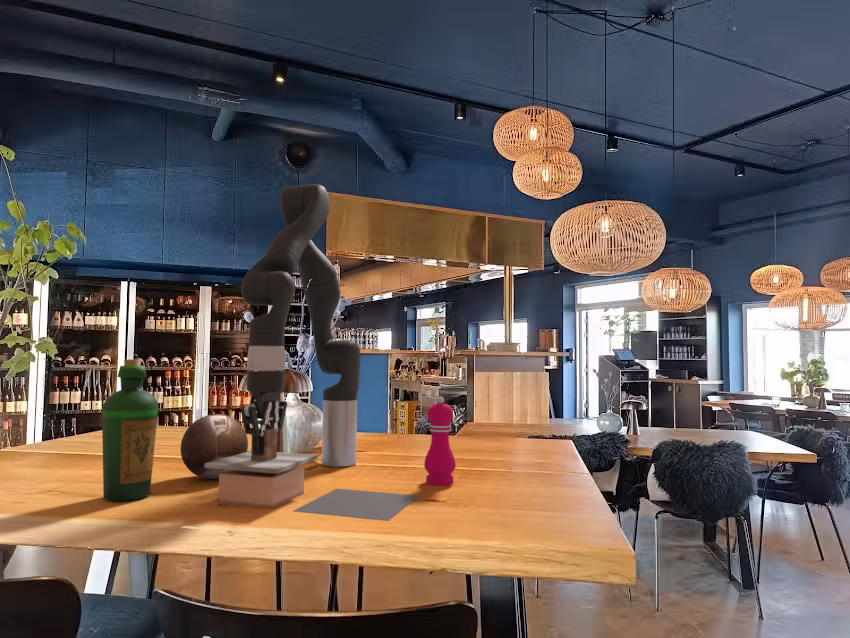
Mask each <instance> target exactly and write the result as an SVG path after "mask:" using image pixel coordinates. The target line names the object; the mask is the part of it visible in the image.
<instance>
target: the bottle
mask: <svg viewBox="0 0 850 638" xmlns="http://www.w3.org/2000/svg"><path fill="white" fill-rule="evenodd" d="M141 364H142V359H124V365H120V367H119V371H118V373H117V378H119V379H120V390H117V391H116V392H113V393H112V394H111V395H110V396H108V397H107V398H106V399H105V400H104V402H103V403H102V405H101V420H102V421H101V422H102V423H101V424H102V425H101V427H102V428H101V429H102V433H101V434H102V437H101V438H102V478H103V479H102V482H103V485H102V487H103V489H102V490H103V499H105V500H107V501H110V502H118V503H121V502H123V503H124V502H133V501H138V500H142V499H144V498H146V497H147V496H150V494H151V487H152V477H153V476H152V475H153V467H154V466H153V465H154V455H155V444H156V436H157V435H156V434H157V425H158V416H159V415H158V414H159V406H160V405H159V401H158V400H157V398H156V397H155V396H154V395H153V394H151V392H149V391H147V390H144V389H143V385H144V379H145V378H147V371H146V370H147V369H146V366H145V365H141Z"/></svg>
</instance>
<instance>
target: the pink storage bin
mask: <svg viewBox="0 0 850 638" xmlns="http://www.w3.org/2000/svg"><path fill="white" fill-rule="evenodd" d="M304 492H305V466H303V465H299V466H297V467H294V468H291V469H289V470H286V471H283V472H281V473H278V474H277V473H264V472H252V471H239V470H230V471H227V472H223V473H220V474H219V478H218V502H217V504H218V506H226V507H229V506H231V505H233V506H234V505H235V506H244V507H253V508H255V507H256V508H265V509H275V508H277V507H279V506H281V505H283V504H286V503H287V502H290V501H292V500H294V499H296V498H298V497H301V496H302V495H304V494H305V493H304Z"/></svg>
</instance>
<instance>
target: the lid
mask: <svg viewBox="0 0 850 638" xmlns="http://www.w3.org/2000/svg"><path fill="white" fill-rule="evenodd" d="M259 430H260V427H259ZM263 437H264V454H263V455H261V456H258V455H253V451H252V447H253V437H252V436H251V448H250V449H251V450H249V451H248V450H247V452H245V453H241V454H238V455H234V456H230V457H227V458H223V459H220V460H216V461H212V462H209V463H205V468H214V469H226V470H239V471H252V472H264V473H277V474H278V473H281V472H283V471H286V470H289V469H291V468H294V467H297V466H303V465H305V464H307V463H311V462H313V461H315V460H318V459H319V455H318V454H313V453H312V454H311V453H309V454H307V453H295V452H293V453H292V452H281V451H278V450H277V449H278V432H277V428H265V433H264V436H263Z"/></svg>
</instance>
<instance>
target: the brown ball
mask: <svg viewBox="0 0 850 638" xmlns="http://www.w3.org/2000/svg"><path fill="white" fill-rule="evenodd" d="M247 435H248V434H246V432H245V428H244V426H243V425H242V424H241V423H240V422H239V421H238V420H236V419H235V418H233V417H231V416H228V415H226V414H220V413H215V414H214V413H213V414H208V415H205V416H202V417H200V418H198V419H196V420H195V421H194V422H192V423H191V424H190V425H189V426H188V428H186V430H185V432H184V434H183V436H182V439H181V441H180V456H181V459H182V462H183V464H184V466H185V467H186V468H187V469H188V471H190V473H192V474H193V475H195V476H196V477H199V478H201V479H206V480H219V474H220V473H223V472H227V471H230V470H226V469H214V468H205V463H209V462H212V461H216V460H220V459H223V458H227V457H230V456H234V455H238V454H241V453H245V452H248V450H249V438H248V436H247Z"/></svg>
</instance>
